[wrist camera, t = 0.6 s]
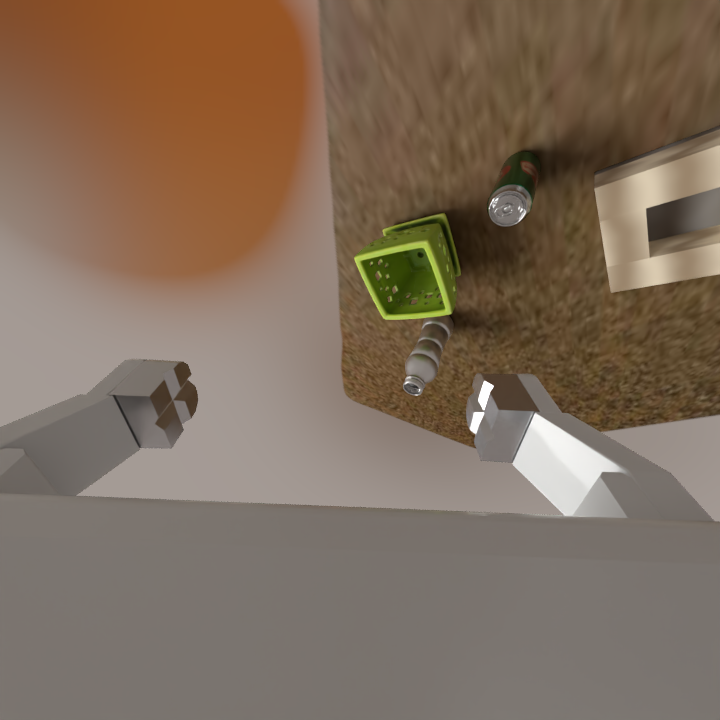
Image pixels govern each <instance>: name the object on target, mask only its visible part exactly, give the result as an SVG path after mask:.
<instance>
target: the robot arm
mask: <svg viewBox="0 0 720 720" xmlns="http://www.w3.org/2000/svg"><path fill="white" fill-rule="evenodd" d="M190 376H191V372H190V369H189V366H188V364H186V363H184V362H181V361H164V360H145V359H129V360H125V361H124V362H122V363H121V364H120V365H119V366H118V367H117V368H116V369H114V370H113V371H112V372H111V373H110V374H109V375H108V376H107V377H105V378H104V379H103V380H102V381H101V382H100V383H99V384H97V385H96V386H95V387H94V388H93V389H92V390H91V391H90V392H88V393H87V394H86V395H83V394H82V395H81V394H80V395H77V396H75V397H73V398H70V399H68V400H65V401H63V402H60V403H58V404H55V405H53V406H51V407H48V408H46V409H44V410H41V411H38V412H36V413H34V414H31V415H29V416H26V417H24V418H21V419H19V420H17V421H14V422H12V423H9V424H7V425H4V426H2V427H0V720H720V522H715V521H714V520H713V519H712V518H711V517H710V516H709V515H708V513H707V512H706V511H705V510H704V509H703V508H702V507H701V506H700V505H699V504H698V502H697V501H696V500H695V499H694V498H693V497H692V496H691V495H690V494H689V493H688V491H687V490H686V489H685V488H684V487H683V486H682V485H681V484H680V483H679V482H678V480H677V479H676V478H675V477H674V476H673V475H672V474H671V473H669V472H668V471H666V470H664V469H663V468H661V467H659V466H658V465H656V464H654V463H652V462H651V461H649V460H647V459H645V458H644V457H642V456H640V455H639V454H637V453H635V452H634V451H632V450H630V449H628V448H627V447H625V446H623V445H621V444H620V443H618V442H616V441H615V440H613V439H611V438H610V437H608V436H606V435H604V434H603V433H601V432H599V431H598V430H596V429H594V428H592V427H591V426H589V425H587V424H586V423H584V422H582V421H580V420H579V419H577V418H575V417H574V416H572V415H570V414H568V413H562V412H561V411H560V409H559V408H558V407H557V405H556V404H555V402H554V401H553V400H552V398H551V397H550V395H549V394H548V393H547V391H546V390H545V388H544V387H543V386H542V384H541V383H540V381H539V380H538V379H537V377H536V376H534V375H532V374H482V373H477V374H476V376H475V378H474V381H473V384H472V386H473V388H474V390H475V393H473V394H472V395H471V396H470V397H469V399H468V403H467V411H466V417H467V423H468V426H469V429H470V430H471V431H472V432H473V433H475V434H476V436H475V440H474V443H475V446H476V449H477V451H478V454H479V457H480V460H481V461H494V462H510V463H513V465H514V466H515V467H516V468H517V469H518V470H519V471H520V472H521V473H522V474H523V475H524V476H525V477H526V478H527V479H528V480H529V481H530V482H531V483H532V484H533V485H534V486H535V487H536V488H537V489H538V490H539V491H540V492H541V493H542V494H543V495H544V496H545V497H546V498H547V499H548V500H550V502H552V503H553V504H554V505H555V506H556V507H557V508H558V509H559V510H560V511H561V512H562V513H563V514H564V516H563V515H540V514H539V515H538V514H514V513H490V512H466V511H465V512H463V511H439V510H415V509H414V510H413V509H391V508H366V507H341V506H340V507H339V506H316V505H314V506H313V505H291V504H290V505H289V504H265V503H241V502H215V501H191V500H166V499H139V498H114V497H90V496H89V497H88V496H76V495H77V494H79V493H80V492H82V491H83V490H84V489H86V488H87V487H89V486H90V485H91V484H93V483H94V482H96V481H97V480H98V479H100V478H101V477H102V476H104V475H105V474H107V473H108V472H109V471H111V470H112V469H114V468H115V467H116V466H118V465H119V464H120V463H122V462H123V461H125V460H126V459H127V458H129V457H130V456H132V455H133V454H134V453H136V452H137V451H139V450H140V448H172V447H173V446H174V444H175V442H176V441H177V439H178V438H179V436H180V435H181V433H182V432H183V427H182V423H184V422H186V421H188V420H189V419H191V418H192V416H193V414H194V413H195V411H196V407H197V403H198V394H197V390H196V387H195V386H194V385H193V384H192V383H191V382H190V381H188V379H189V378H190Z"/></svg>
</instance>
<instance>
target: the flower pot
mask: <svg viewBox="0 0 720 720" xmlns="http://www.w3.org/2000/svg"><path fill="white" fill-rule="evenodd" d="M383 234H384V236H385V237H382V238H380V239H377V240H375V241H374V242H372V243H370V244H369V245H367V246H366V247H365V248H363V249H362V250H361V251H360V252H359V253H358V254H357V255H356V256H355V262H356V264H357V267H358V269H359V271H360V273H361V276H362V278H363V280H364V282H365V284H366V286H367V288H368V290H369V292H370V294H371V296H372V298H373V300H374V302H375V304H376V306H377V308H378V310H379V312H380V313H381V315H382V317H383V318H384V319H387V320H399V319H417V318H428V317H437V316H444V315H450V314H452V313H453V310H454V307H455V303H456V295H457V284H456V278H455V277H457V276H460V275H461V269H460V265H459V261H458V257H457V253H456V248H455V245H454V241H453V237H452V234H451V230H450V226H449V223H448V220H447V217H446V214H445V213H441V214H436V215H432V216H428V217H424V218H420V219H417V220H413V221H409V222H405V223H401V224H398V225H394V226H390V227H387V228H385V229H383ZM379 260H380V261H381V263H380V265H378V263H377V262H378V261H379ZM370 262H371V266H370V264H369V263H370ZM385 264H386V265H387V266H386V268H385ZM377 271H378V273H379V275H380V279H379V280H378V281H377V279H376V277H375V274H376V272H377ZM385 275H387V277H388V279H386V277H385ZM394 286H395V288H396V293H395V294H393V292H392V288H393V287H394ZM386 287H387V291H385V288H386ZM380 288H381V291H380ZM438 288H439V289H438ZM437 289H438V290H437ZM436 290H437V291H436ZM423 292H424V293H423ZM421 293H423V294H421ZM409 294H410V297H409V298H406V296H407V295H409ZM440 294H441V295H442V298H438V296H439V295H440ZM428 295H432V297H431V298H426V297H427V296H428ZM388 296H389V297H390V300H391V302H388V299H387V297H388ZM416 299H418V301H417V303H416V304H411V301H412V300H416ZM398 301H399V302H398ZM442 302H444V303H443V304H441V303H442ZM427 303H429V304H427ZM401 305H402V306H401Z"/></svg>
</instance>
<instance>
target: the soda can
mask: <svg viewBox="0 0 720 720" xmlns="http://www.w3.org/2000/svg"><path fill="white" fill-rule="evenodd" d="M540 171H541V164H540V161H539V159H538V157H537V156H536V155H535V154H533V153H530V152H519V153H516V154H514V155H512V156H511V157H509V158H508V159H507V160H506V162H505V163H504V165H503V167H502V169H501V172H500V174H499V176H498V179H497V181H496V183H495V186H494V188H493V190H492V193H491V195H490V197H489V200H488V203H487V211H488V214H489V216H490V218H491V220H492V221H493V222H494V223H495V224H497V225H499V226H503V227H508V226H513V225H515V224H517V223H519V222H520V221H522V220H523V219H524V218H525V217H526V216H527V215H528V214H529V212H530V210H531V207H532V203H533V199H534V195H535V191H536V187H537V183H538V179H539V175H540Z"/></svg>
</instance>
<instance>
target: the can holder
mask: <svg viewBox="0 0 720 720" xmlns="http://www.w3.org/2000/svg"><path fill="white" fill-rule="evenodd" d="M594 189H595V195H596V201H597V208H598V214H599V220H600V227H601V233H602V239H603V246H604V252H605V258H606V265H607V271H608V277H609V284H610V290H611V293H612V292H618V291H624V290H629V289H635V288H641V287H647V286H653V285H659V284H664V283H670V282H676V281H682V280H688V279H693V278H699V277H705V276H711V275H717V274H720V126H717V127H715V128H712V129H709V130H707V131H704V132H701V133H699V134H696V135H693V136H691V137H688V138H685V139H683V140H680V141H677V142H675V143H672V144H669V145H667V146H664V147H661V148H658V149H656V150H653V151H650V152H648V153H645V154H642V155H640V156H637V157H634V158H632V159H629V160H626V161H624V162H621V163H618V164H616V165H613V166H610V167H608V168H605V169H602V170H600V171H597V172H595V187H594Z"/></svg>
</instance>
